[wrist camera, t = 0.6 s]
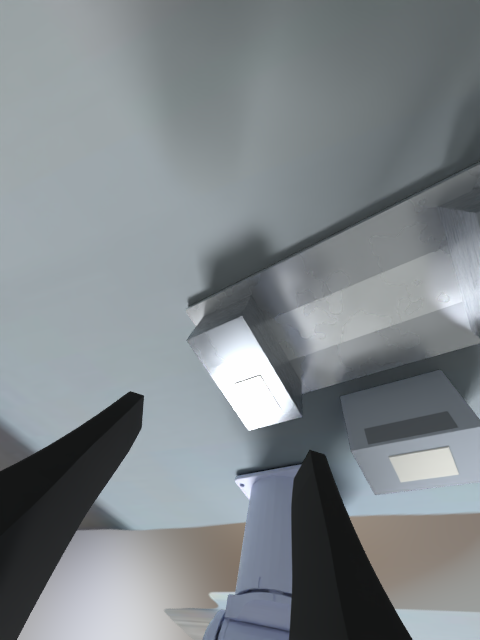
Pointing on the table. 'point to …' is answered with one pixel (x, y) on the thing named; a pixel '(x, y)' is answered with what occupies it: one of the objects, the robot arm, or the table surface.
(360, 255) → the rail base
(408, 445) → the block
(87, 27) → the table surface
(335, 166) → the table surface
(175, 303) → the table surface
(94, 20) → the table surface
